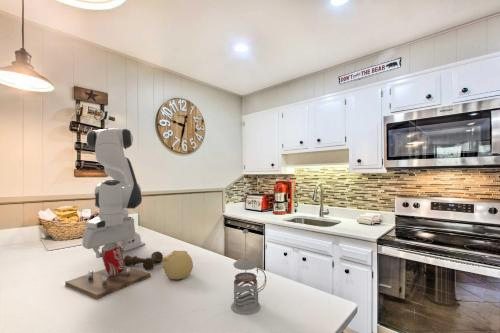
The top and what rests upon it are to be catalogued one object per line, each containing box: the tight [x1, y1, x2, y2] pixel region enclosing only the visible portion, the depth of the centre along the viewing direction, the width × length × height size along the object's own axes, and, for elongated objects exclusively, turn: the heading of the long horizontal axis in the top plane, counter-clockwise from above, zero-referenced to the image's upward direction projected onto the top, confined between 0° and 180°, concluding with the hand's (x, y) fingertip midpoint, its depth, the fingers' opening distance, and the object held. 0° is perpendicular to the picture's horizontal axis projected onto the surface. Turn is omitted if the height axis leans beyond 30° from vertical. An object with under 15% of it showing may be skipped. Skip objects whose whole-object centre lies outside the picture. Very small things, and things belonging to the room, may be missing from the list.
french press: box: [230, 228, 267, 316], centre depth 82 cm, size 10×12×25 cm
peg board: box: [64, 266, 151, 300], centre depth 102 cm, size 22×22×4 cm
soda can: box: [101, 243, 125, 276], centre depth 104 cm, size 7×7×12 cm
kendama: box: [123, 251, 164, 271], centre depth 119 cm, size 6×10×20 cm
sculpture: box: [161, 250, 194, 280], centre depth 106 cm, size 12×12×11 cm
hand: (110, 253), depth 103 cm, fingers open, 8 cm apart
